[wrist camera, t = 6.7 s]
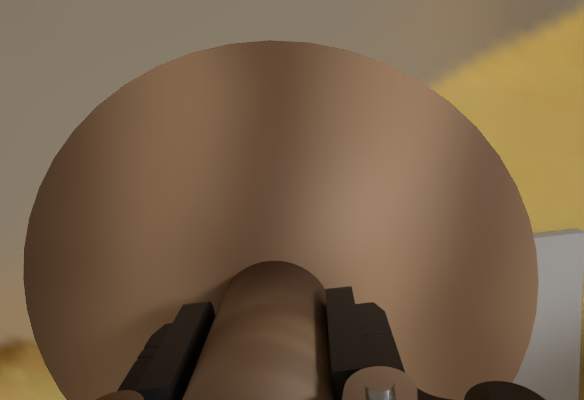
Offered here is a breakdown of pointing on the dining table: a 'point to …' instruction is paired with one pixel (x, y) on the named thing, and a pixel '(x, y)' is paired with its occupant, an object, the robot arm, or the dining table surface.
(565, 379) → the mat
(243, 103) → the lid
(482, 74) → the dining table surface
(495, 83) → the dining table surface
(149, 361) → the robot arm
